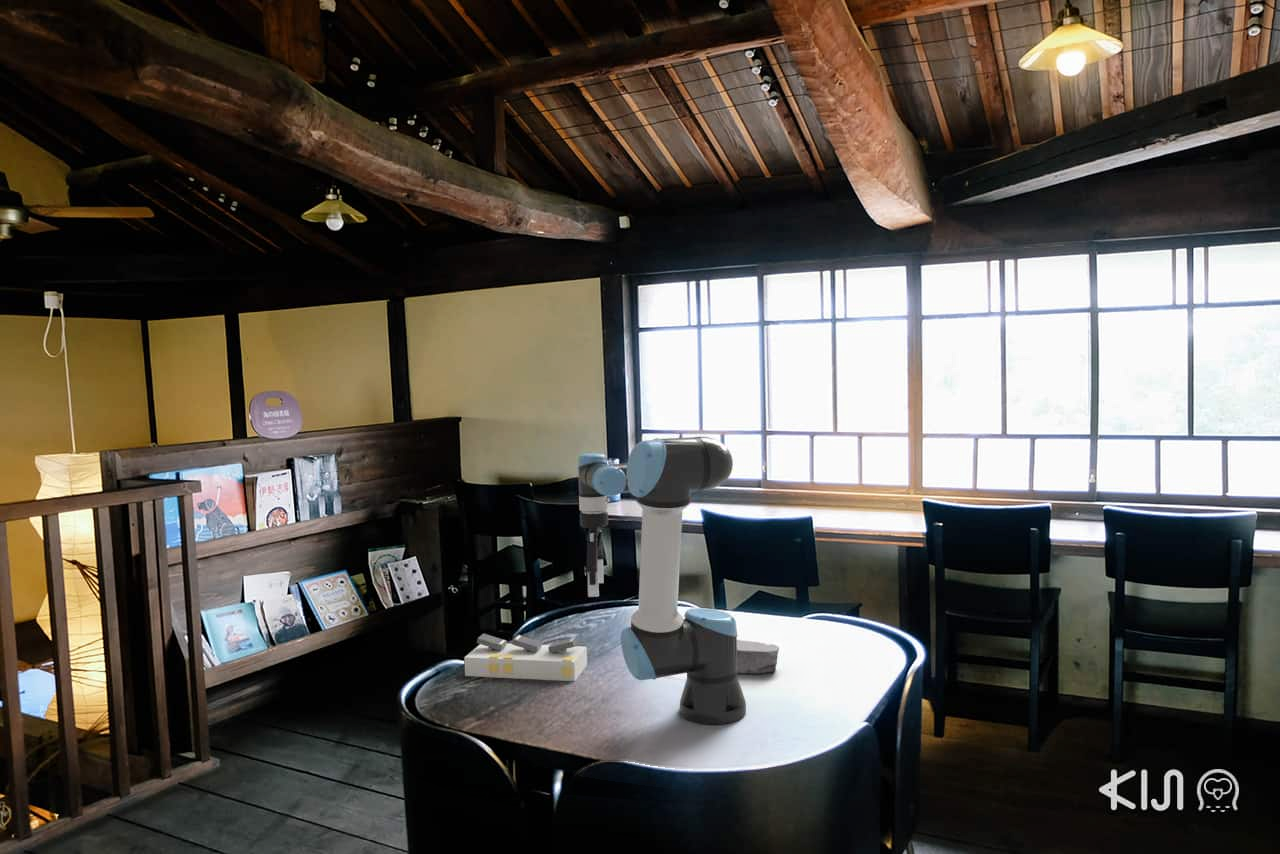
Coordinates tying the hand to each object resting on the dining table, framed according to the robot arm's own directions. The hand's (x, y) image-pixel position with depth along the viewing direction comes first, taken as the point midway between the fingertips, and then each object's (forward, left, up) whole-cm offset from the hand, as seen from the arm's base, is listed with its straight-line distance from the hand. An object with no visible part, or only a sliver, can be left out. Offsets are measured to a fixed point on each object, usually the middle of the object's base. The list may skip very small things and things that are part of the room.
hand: (596, 589), depth 219 cm
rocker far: (-6, +28, -14) cm, 32 cm away
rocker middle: (-6, +18, -14) cm, 23 cm away
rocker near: (-6, +8, -14) cm, 17 cm away
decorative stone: (+1, -41, -21) cm, 46 cm away
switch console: (-7, +18, -21) cm, 28 cm away
